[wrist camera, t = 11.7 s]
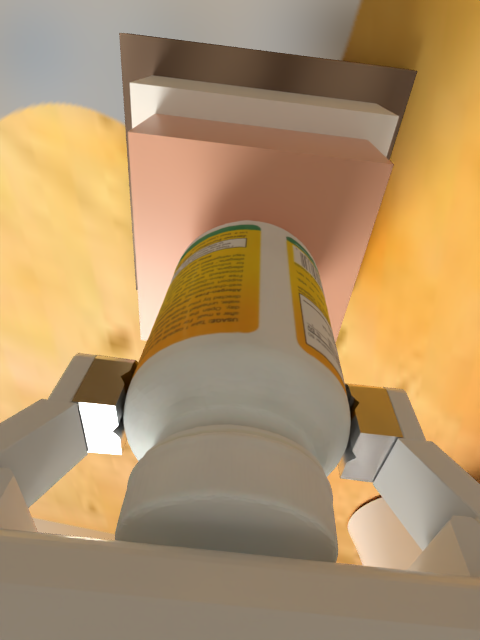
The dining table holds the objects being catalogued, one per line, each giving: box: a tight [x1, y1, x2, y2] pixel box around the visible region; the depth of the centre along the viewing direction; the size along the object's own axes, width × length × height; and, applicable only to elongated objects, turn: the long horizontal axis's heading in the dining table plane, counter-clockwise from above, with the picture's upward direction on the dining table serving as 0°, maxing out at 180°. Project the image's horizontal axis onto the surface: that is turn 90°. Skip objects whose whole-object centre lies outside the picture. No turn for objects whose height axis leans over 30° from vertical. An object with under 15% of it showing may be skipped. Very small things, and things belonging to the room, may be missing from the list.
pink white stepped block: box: [128, 75, 399, 343], centre depth 19 cm, size 11×11×8 cm
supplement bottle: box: [115, 220, 351, 563], centre depth 11 cm, size 5×5×10 cm
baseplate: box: [119, 33, 417, 290], centre depth 23 cm, size 14×14×2 cm
